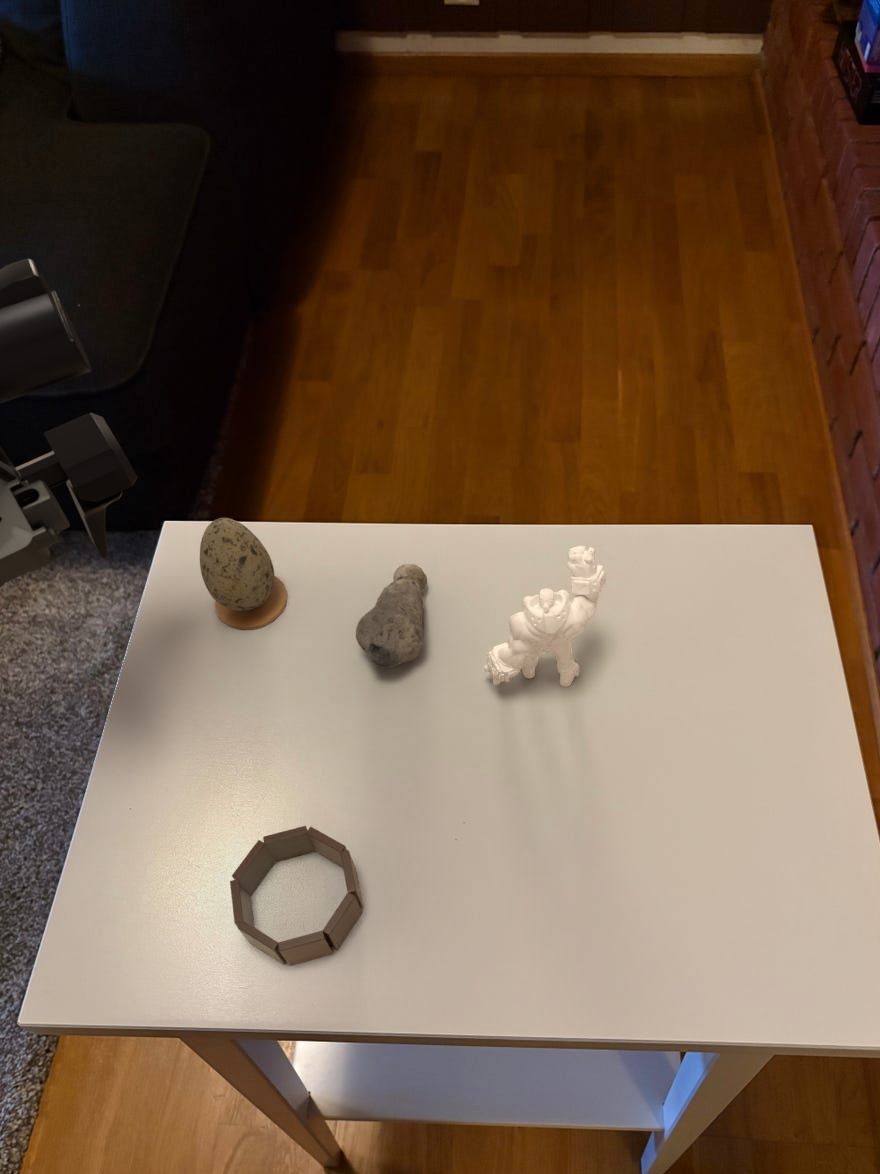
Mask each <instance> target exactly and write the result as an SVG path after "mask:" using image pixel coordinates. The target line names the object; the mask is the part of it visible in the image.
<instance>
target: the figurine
mask: <svg viewBox="0 0 880 1174" xmlns="http://www.w3.org/2000/svg"><path fill="white" fill-rule="evenodd" d="M596 552H597V550H596V548H594V547H592V546H590V547H589V548H588V549H587V548H586V546H585V545H577V546H574V547H570V549H569V550H568V552H567V558H568V561H567V562H566V568H567V569H568V570H569V572H570V573H571V574H572V575H571V577H570V578H571V580H570V581H571V582H570V583H571V585H570V586H571V589H572V595H573V599H572V601H571V600H569V599H570V593H569V592H568V591H567V590H565V589H560V590H558V591H553V589H551V588H549V587H545V588H542V589H541V590H540V591H539V593H537V594H535V595H533V596H532V595H526V596H525V597H524V598H523V599H522V601H521V604H522V606H523V611H519V612H516V613H514V614H512V615H511V616H510V618H509V620H508V626H509V629H510V632H509V634H508V637H507V642H502V643H501V644H500V643H499V644H498V645H495V646H493V647H492V648H491V650H489V651H488V652H487V653H486V658H485V661H486V662H485V663H486V664H485V665H484V666H483V671H485V672H487V673H489V675H490V676H491V677H492V684H493V685H495V686H499V685H500V683H501V682H505V683H507V684H508V683H510V682H511V680H510V679H511V678H513V677H517V675H518V674H519V673H520V671H521V672H522V675H523V677H524V678H526V679H533V678H534V677H535V675H536V667H537V665H538V664H539V663H538V662H539V656H540V654H541V653H542V652H544V653H547V654H548V653H552V654H554V655H555V658H556V664H557V672H558V673H559V674H560V675H559V684H560V685H561V687H565V688H566V687H569V686H571V685H572V683H573V681H574V679H575V677H576V678H578V677H579V675H580V665H579V663H577V661H576V662H575V661H574V653H573V650H572V644H571V642H570V639H572V638H573V637H576V636H577V635H581V633H583V632H584V631H585V630H586V626H587V623H588V622H589V621H591V620H592V619H593V618H594V617H595V614H596V611H597V606H598V601H599V597H600V592H601V591H602V590H603V589H604V586H605V584H606V580H607V573H606V570H605V569H604V565H602V564H597V563H598V562H597V560H596V556H595V554H596Z"/></svg>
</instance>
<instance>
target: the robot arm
mask: <svg viewBox="0 0 880 1174" xmlns="http://www.w3.org/2000/svg"><path fill="white" fill-rule="evenodd" d="M92 372H93V368H92V366H91V363H90V360H89V358H88V356H87V354H86V351H85V348H84V347H83V345H82V342H81V340H80V338H79V335H78V333H77V332H76V329H75V327H74V325H73V323H72V320H71V319H70V317H69V315H68V313H67V310H66V308H65V306H64V305H63V302H62V301H61V299H60V297H59V295H58V293H57V291H56V290H52V289H51V288H50V285H49V284H48V281H46V279H45V277H44V276H43V275H42V274H41V273H40V271H39V269H38V267H37V265H36V264H35V261H34V260H33V259H31V258H25V259H21V260H18V261H15V262H12V263H9V264H7V265H5V266H3V267H2V268H1V269H0V404H3V403H6V402H9V401H13V400H14V399H18V398H20V397H23V396H27V395H29V394H32V393H35V392H38V391H40V390H44V389H46V388H49V387H51V386H54V385H55V386H56V385H58V384H60V383H63V382H66V381H70V380H71V379H75V378H77V377H80V376H84V375H86V374H89V373H92ZM43 435H44V437H45V438H46V440H47V443H48V444H49V446H50V448H51V451H50V452H47V453H45V454H43V455H41V456H38V457H36V458H34V459H32V460H30V461H27V462H25V463H23V464H20V465H18V466H16V467H15V466H14V464H13V463H12V461H11V460H10V458H9V457H8V455H7V454H6V453H5V451H4V450H3V448H2V447H1V446H0V588H2V587H3V586H5V584H7V583H9V582H11V581H13V580H15V579H17V578H19V577H22V576H24V575H26V574H27V573H30V572H36V571H38V570H40V569H42V568H43V567H45V566H46V565H47V564H48V563H49V561H50V558H51V550H50V547H52V546H54V545H56V544H59V543H60V542H61V541H62V540H61V538H60V536H59V535H60V532H62V531H64V530H66V529H68V528H70V525H71V523H70V522H69V520H68V518H67V515H66V514H65V512H64V511H63V509H62V507H61V506H60V504H59V502H58V499H57V498H56V497H55V495H54V493H53V492H52V490H51V489H55V488H56V487H58V486H60V485H62V484H66V486H67V488H68V491H69V492H70V495H71V497H72V500H73V502H74V505H75V507H76V509H77V511H78V513H79V516H80V518H81V520H82V523H83V525H84V527H85V529H86V532H87V534H88V536H89V538H90V539H91V542H92V543H93V545H94V547H95V549H96V551H97V552H98V553H99V556H100V557H101V558H102V559H103V560H105V559H108V558H109V551H108V550H109V549H108V540H107V530H106V512H107V508H108V506H109V505H110V504H112V503H114V502H115V501H118V500H119V499H120V498H122V496H123V491H126V490H127V489H129V488H131V487H133V486H134V484H135V483H136V481H137V479H138V475H137V474H136V472H135V469H134V468H133V467H132V464H131V462H130V461H129V458H128V457H127V455H126V454H125V452H124V450H123V449H122V447H121V445H120V443H119V442H118V440H117V439H116V437H115V435H114V433H113V432H112V430H111V428H110V427H109V426H108V423H107V422H106V420H105V419H104V417H103V416H100V415H98V414H96V413H93V412H88V413H86V414H83V415H81V416H79V417H76V418H74V419H72V420H70V421H67V422H65V423H63V424H61V425H58V426H56V427H54V428H51V429H49V430H47V431H45V432H43Z"/></svg>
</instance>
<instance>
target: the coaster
mask: <svg viewBox="0 0 880 1174" xmlns="http://www.w3.org/2000/svg"><path fill="white" fill-rule="evenodd" d="M274 576H275V577H274V585H273V589H272V592H271V594H270V595H269V597H268V598H267V600H266V601H265V602H264V603H263V604H261V605H260V606H259V607H257V608H255V609H252V610H248V611H235V610H231V609H228V608H226V607H224V606H222V605H221V604H219V603H218V602H217V601H216V600H214V607H215V612H216V614H217V616H218V617H219V620H220V621H221V622H222V623H224V624H225V625H226V626H228V627H230V628H232V629H236V630H242V631H243V630H245V631H250V630H256V629H260V628H262V627H265V626H267V625H269V624H270V623H272V622H274V621H275V620H276V619H277V618H278V617H279V616H281V614H282V613H283V612H284V609H285V608H286V605H287V601H288V593H287V588H286V586H285V584H284V583H283V582H282V580H281V579H280V578H278V577H277V576H276V575H274Z"/></svg>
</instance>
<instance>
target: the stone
mask: <svg viewBox="0 0 880 1174" xmlns="http://www.w3.org/2000/svg"><path fill="white" fill-rule="evenodd" d="M392 578H393V579H392V580H393V581H392V582H390V583H388V584H387V585H386V586H385V587H383V589H382V591H381V592H380V594H379V596H378V597H377V600H376V602H375V605H374V607H373V608H372V609H370V610H369V611H368V612H367V613H365V614H364V615H363V616H361V618H359V620H358V623H357V626H356V629H355V639H356V641H357V644H358V646H359V647H360V648H361V649H362V650H363V651H364V652H365V654H366V655H367V656H368V658H369V660H370V662H371V663H372V664H374V665H375V666H376V667H380V668H393V667H396V666H399V665H401V664H406V663H408V662H411V661H413V660H415V659H416V658H417V657H418V656H419V654H420V653H421V652H422V648H423V643H424V629H423V620H424V597H423V593H422V591H423V590H424V589H425V588H426V586H427V585H428V577H427V574H426V573H425V572H424V570H423V569H422V568H421V567H420V566H419V565H418V564H413V563H404V564H401V565H400V566H398V567H397V568H396V569H395V571H394V572H393V575H392Z"/></svg>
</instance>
